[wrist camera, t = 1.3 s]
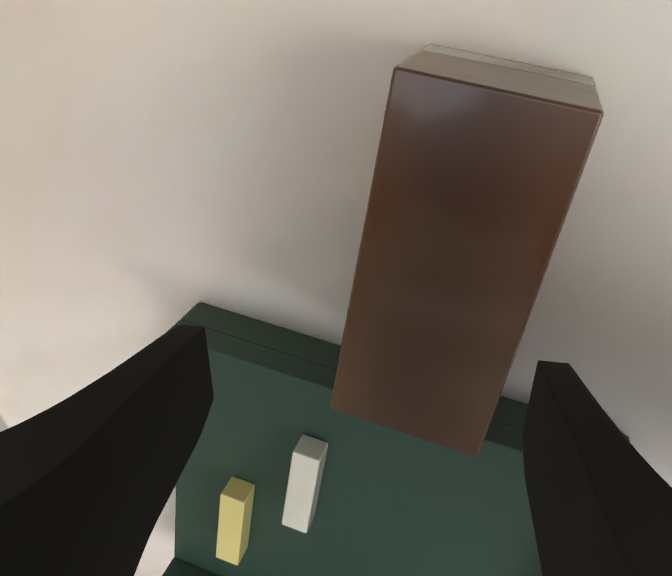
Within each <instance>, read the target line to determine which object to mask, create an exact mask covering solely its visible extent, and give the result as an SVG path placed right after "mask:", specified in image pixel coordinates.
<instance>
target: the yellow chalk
mask: <svg viewBox="0 0 672 576" xmlns="http://www.w3.org/2000/svg"><path fill="white" fill-rule="evenodd" d="M254 490H255V484H253V483H250V482H247V481H244V480H242V479H239V478H236V477H234V476H232V477H231V478H230V480H229V482H228V483H227V485H226V486H225V488H224V489H223V491H222V493H221V495H220V508H219V521H218V534H217V547H216V557H217V558H219V559H222V560H224V561H227V562H229V563H232V564H234V565H238V564H239V562H240V561H241V559H242V557H243V555H244V553H245V551H246V549H247V547H248V541H249V532H250V524H251V515H252V507H253V498H254Z"/></svg>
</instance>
